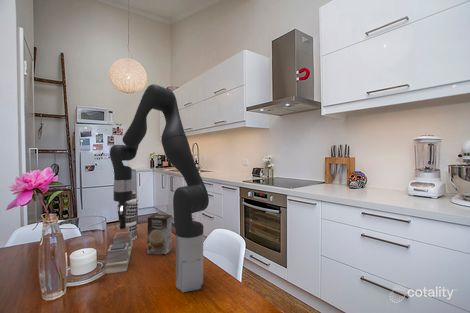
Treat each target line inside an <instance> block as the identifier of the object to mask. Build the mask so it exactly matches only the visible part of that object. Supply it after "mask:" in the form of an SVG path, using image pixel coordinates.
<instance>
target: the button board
mask: <svg viewBox="0 0 470 313" xmlns="http://www.w3.org/2000/svg"><path fill="white" fill-rule="evenodd" d="M122 243H125V249H118V250H111V248H112V246H113V244H122ZM113 244H110V245H109V247H108V249H107V252H106V256H107V258H106V259H107V260H106V261H107V262H106V264H105V275H106V274H108V275H109V274H114V273H115V274H116V273H121V272H127V271H128V267H129V263H130V258H131V254H132V249H133V240H132V232H129V236H125V237H117V232H116V233H115V235H114V236H113Z"/></svg>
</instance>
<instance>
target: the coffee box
mask: <svg viewBox="0 0 470 313" xmlns="http://www.w3.org/2000/svg"><path fill="white" fill-rule="evenodd" d="M172 217H173V215H172V214H162V213H160V214H158V213H153V214H151V215H149V216H148V217H147V241H146V242H147V244H146V245H147V248H146V249H147V250H146V251H147V252H146V254H148V255H161V254H165V256H166V254H167V253H168V254H169V253H170V252H171V251H172V235H173V234H172V228H173V227H172V225H173V223H172V222H173V221H172V220H173V218H172ZM168 254H167V255H168Z"/></svg>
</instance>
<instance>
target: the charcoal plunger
mask: <svg viewBox="0 0 470 313" xmlns="http://www.w3.org/2000/svg"><path fill="white" fill-rule="evenodd" d="M112 245H113V246H112V248H111V250H118V249H125V243H122V244H112Z"/></svg>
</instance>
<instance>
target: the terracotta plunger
mask: <svg viewBox="0 0 470 313" xmlns="http://www.w3.org/2000/svg"><path fill="white" fill-rule="evenodd" d="M116 233H117V237H125V236H129V226H128V227H126V228H125V229H120V227H119V226H118V227H117V229H116Z"/></svg>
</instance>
